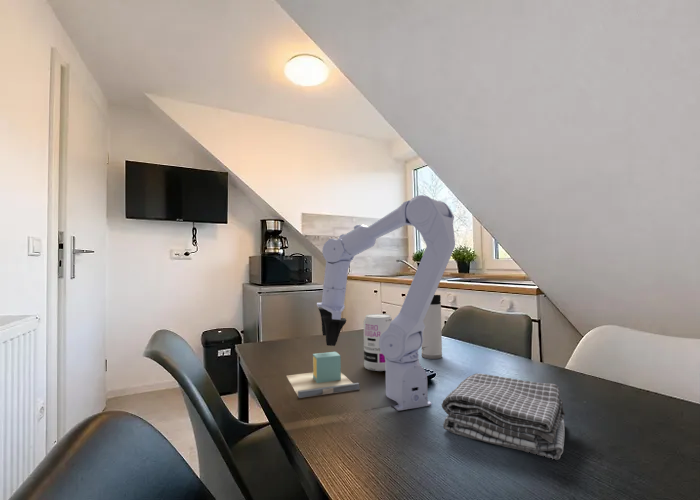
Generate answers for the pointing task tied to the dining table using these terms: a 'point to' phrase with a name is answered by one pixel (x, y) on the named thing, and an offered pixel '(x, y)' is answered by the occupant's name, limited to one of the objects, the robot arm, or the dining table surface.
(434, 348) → the travel mug
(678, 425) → the dining table surface
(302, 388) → the shelf board
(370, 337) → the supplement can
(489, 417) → the towel
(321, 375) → the carton
